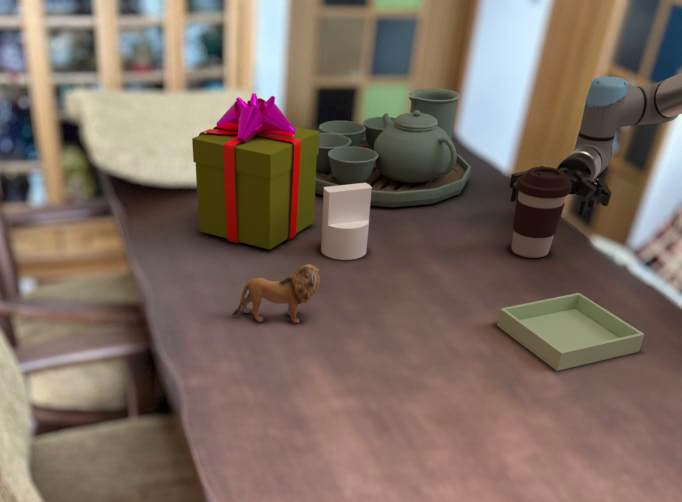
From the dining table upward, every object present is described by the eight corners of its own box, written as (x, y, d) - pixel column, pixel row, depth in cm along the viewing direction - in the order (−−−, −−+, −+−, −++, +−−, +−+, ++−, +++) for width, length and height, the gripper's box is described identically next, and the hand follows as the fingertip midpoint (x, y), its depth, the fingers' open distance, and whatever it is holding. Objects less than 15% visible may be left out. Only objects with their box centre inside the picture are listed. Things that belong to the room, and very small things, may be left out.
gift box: (230, 206, 179) (226, 77, 162) (320, 220, 173) (326, 88, 157) (188, 240, 165) (180, 103, 148) (286, 256, 159) (288, 115, 142)
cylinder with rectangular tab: (356, 239, 166) (360, 177, 158) (373, 256, 159) (379, 193, 152) (314, 244, 164) (316, 182, 156) (330, 262, 157) (334, 198, 149)
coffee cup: (566, 254, 161) (585, 174, 151) (531, 266, 157) (549, 184, 147) (528, 237, 167) (544, 160, 157) (493, 248, 163) (508, 169, 153)
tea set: (336, 144, 213) (340, 73, 202) (487, 168, 200) (500, 92, 189) (267, 191, 186) (268, 111, 175) (437, 222, 173) (449, 138, 162)
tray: (638, 351, 132) (644, 334, 130) (556, 371, 128) (561, 353, 125) (574, 309, 143) (579, 292, 141) (496, 325, 139) (500, 308, 137)
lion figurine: (316, 309, 142) (318, 258, 136) (319, 323, 139) (322, 272, 133) (231, 311, 142) (230, 260, 136) (232, 325, 138) (231, 273, 132)
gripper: (632, 200, 172) (606, 233, 158) (517, 178, 181) (483, 208, 168) (643, 162, 167) (617, 193, 153) (524, 142, 176) (489, 169, 163)
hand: (547, 201), depth 160 cm, fingers open, 13 cm apart
